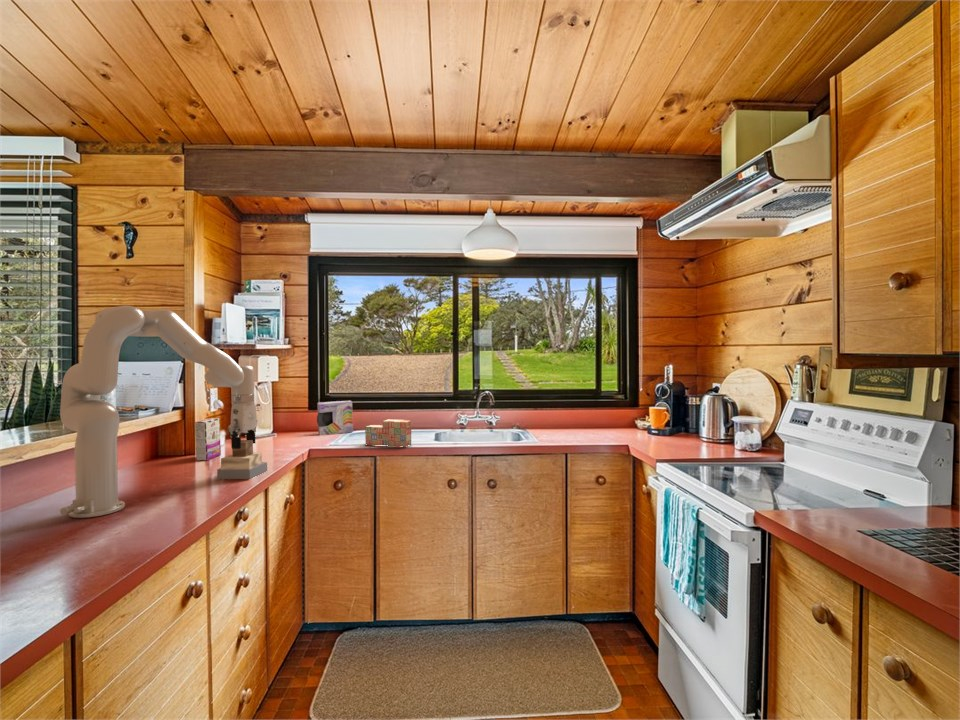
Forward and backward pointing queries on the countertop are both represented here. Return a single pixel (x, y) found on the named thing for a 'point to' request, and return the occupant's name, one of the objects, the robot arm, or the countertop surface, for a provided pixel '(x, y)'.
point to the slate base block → (242, 472)
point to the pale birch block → (241, 461)
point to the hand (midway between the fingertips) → (243, 445)
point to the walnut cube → (243, 449)
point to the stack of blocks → (389, 433)
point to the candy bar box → (207, 439)
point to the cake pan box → (335, 417)
